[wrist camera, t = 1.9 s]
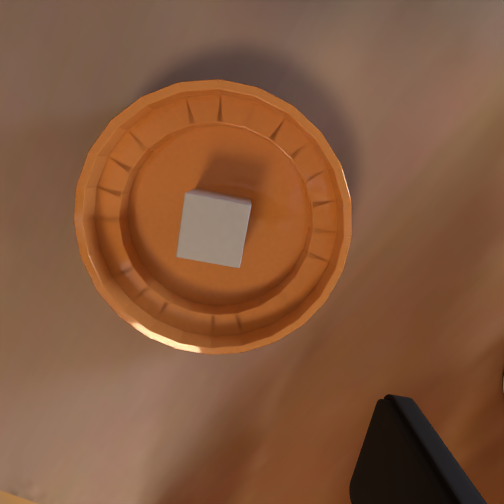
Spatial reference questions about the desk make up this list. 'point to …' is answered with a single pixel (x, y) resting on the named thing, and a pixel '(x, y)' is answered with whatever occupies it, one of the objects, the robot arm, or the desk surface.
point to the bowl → (222, 181)
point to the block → (213, 227)
